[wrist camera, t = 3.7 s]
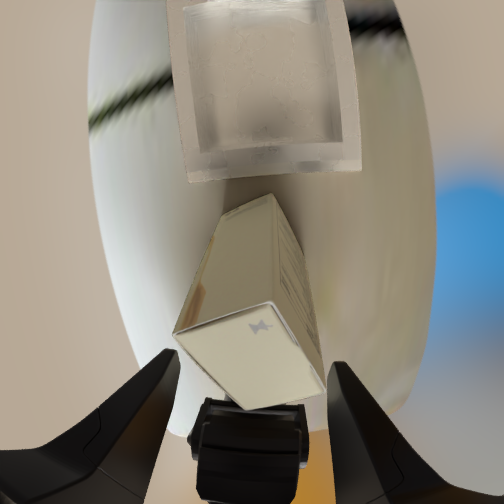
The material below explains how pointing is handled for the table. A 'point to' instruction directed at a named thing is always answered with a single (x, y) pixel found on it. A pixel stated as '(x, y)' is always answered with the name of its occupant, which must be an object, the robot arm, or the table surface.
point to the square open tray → (264, 87)
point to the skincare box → (254, 311)
